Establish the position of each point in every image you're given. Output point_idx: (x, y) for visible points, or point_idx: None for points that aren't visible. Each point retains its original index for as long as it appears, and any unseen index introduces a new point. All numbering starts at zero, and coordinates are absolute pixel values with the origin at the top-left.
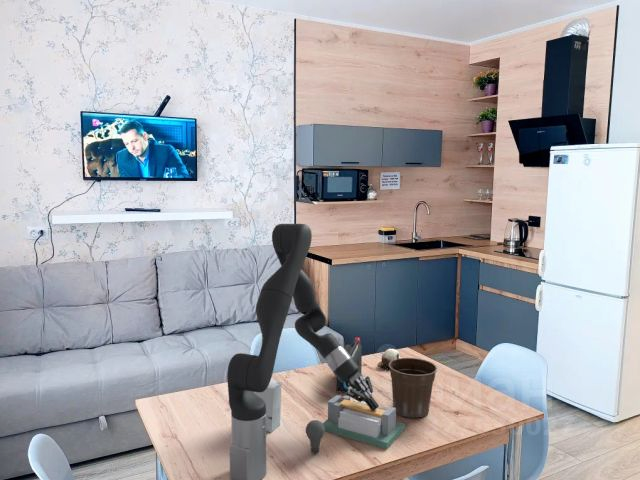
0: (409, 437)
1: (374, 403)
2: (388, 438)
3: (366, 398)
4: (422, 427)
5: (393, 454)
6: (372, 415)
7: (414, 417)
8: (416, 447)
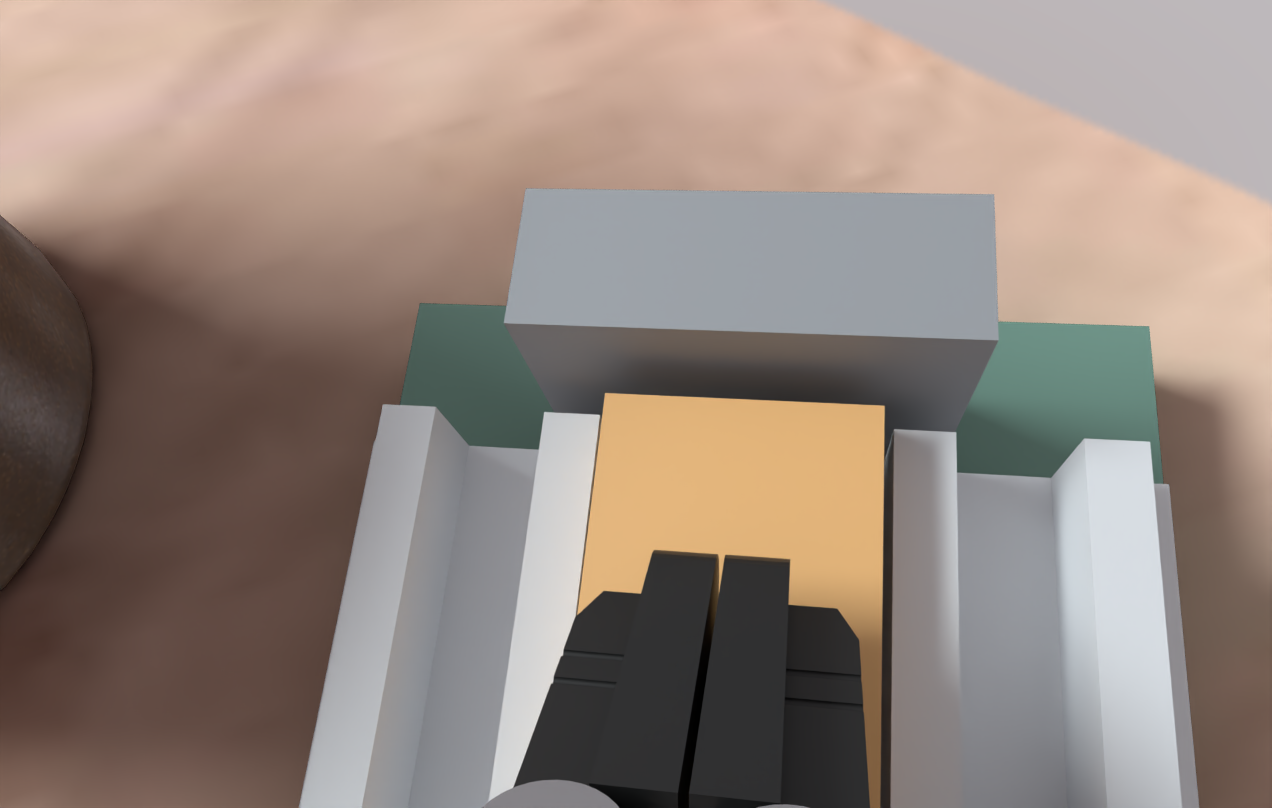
0: None
1: (764, 625)
2: (997, 357)
3: None
4: (305, 178)
5: (1187, 253)
6: None
7: (82, 321)
8: (840, 85)
